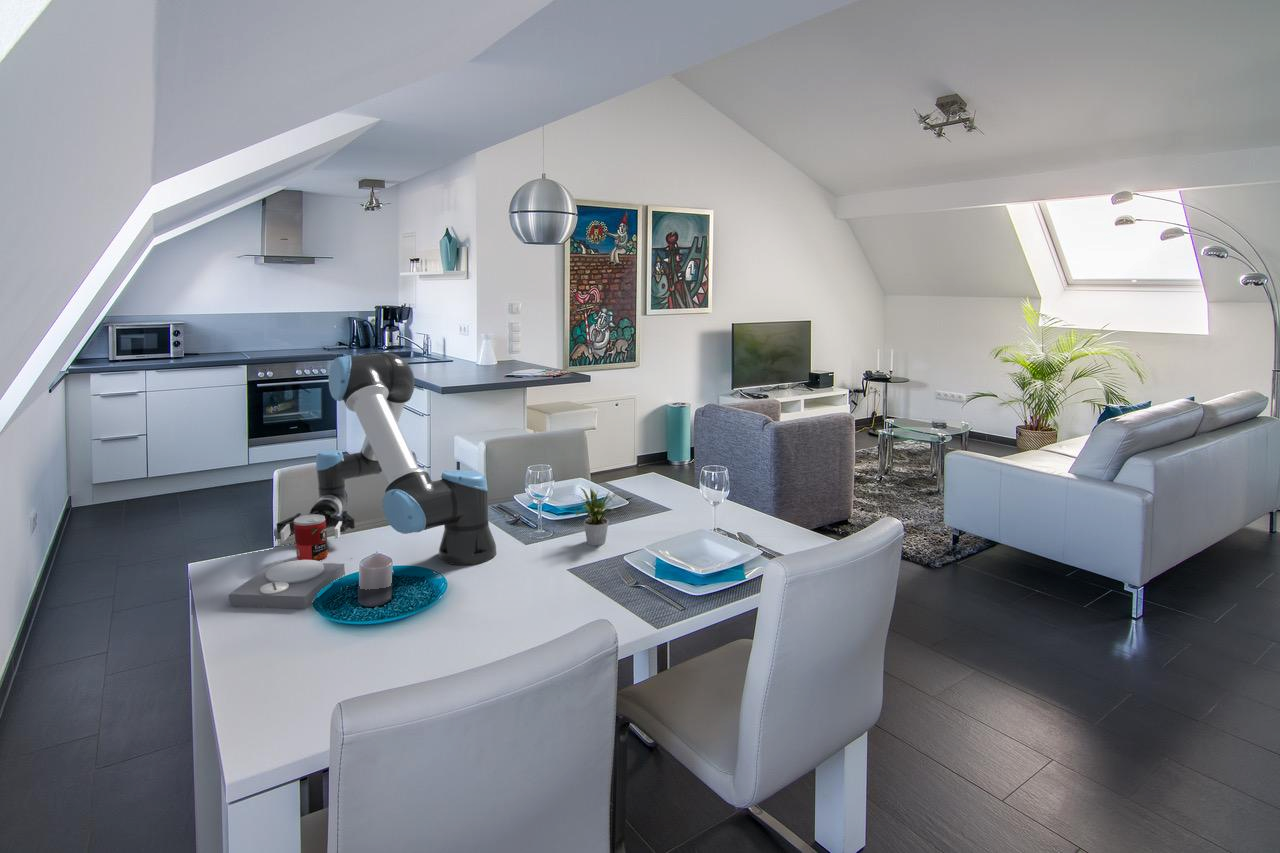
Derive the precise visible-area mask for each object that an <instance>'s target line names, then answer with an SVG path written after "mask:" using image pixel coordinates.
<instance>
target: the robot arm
mask: <svg viewBox="0 0 1280 853" xmlns="http://www.w3.org/2000/svg"><path fill="white" fill-rule="evenodd" d="M328 388H329V393H330V396H331V398H333V400H334V401H338V402H341V401H343V403H344V405H345V407H346V409H348V410H349V411H351V412H354V413H355V414H356V417H357V419H358V421H359V423H360V426H361V427H362V429H363V431H364V434H365V438H364V440H363V444H362V447H361V450H360V452H355V453H354V452H353V453H349V454H343V452H342V451H341V450H339V449H326V450H322V451H319V452H318V453H317V454H316V466H315V469H316V475H317V482H318V483H317V485H318V496H319V497H318V499H317V501H316V502H315V504H314V505H313V506H312V507H311V509H310V511H309V513H307V514H306V515H312V514H317V515H323V516H324V517H325V522H326V528H328V527H334V538H335V539H339V538H340V536H341V535H342V533H345V532H346V531H347V530H348V528H349V529H351V530H352V529H355V528H356V526H355V519H354V518H353V517H352V516H351V515H349V514H348V511H347V510H344V509H345V507H346V506H347V504H348V501H349V494H348V492H347V490H346V481H347V480H351V479H356V478H361V477H366V476H367V477H368V476H373V475H379V474H381V473H382V474H383V475H384V478H385V480H386V482H387V484H386V485H385V488H384V492H385V493H384V495H383V497H382V508H383V509H384V510H383V513H384V516H385V518H386V520H387V522H388V524H389V525H390V527H391V528H392V529H393V530H394V531H396V532H397V533H400V534H404V535H408V534H413V533H421V532H422V531H426V530H429V529H434V528H436V527H441V526H444V531H443V533H442V537H441V540H440V544H439V548H438V556H439V557H438V558H439V559H440V561H442V562H443V563H447V564H448V565H450V564H451V565H456V566H457V565H459V566H461V565H462V566H464V565H475V564H481V563H483V562H487V561H489V560H492V559H493V558H494V557H495V556H496V555H497V545H496V541H495V539H494V535H493V534H492V531H491V528H490V526H489V524H490V523H489V500H488V497H489V496H488V491H489V489H488V483H487V478H486V476H485V475H484V474H483V473H480V472H478V471H472V470H466V469H451V470H449V469H448V470H445V471H443V472H442V473H441V476H440V478H441V479H439V480H435V481H433V480H432V478H431V476H430V474H429V472H428V471H426V470H424V469H420V468H419V467H420V466H419V465H418V463H417V460H416V459H415V457H414V455H413V453H412V450H411V448H410V446H409V444H408V442H407V440H406V438H405V436H404V434H403V431H402V430H401V428H400V425H399V421H400V418H401V415H402V414H403V411H404V407H405V405H406V403H408V402H409V401H410V400H411V398H412V397H413V394H414V389H415V375H414V371H413V369H412V368H411V366H410V364H408V363H407V361H406V360H405V359H404V358H402V357H400V356H399V355H397V354H395V353H390V352H381V353H370V354H361V355H359V354H358V355H349V354H348V355H347V356H339V357H336V358H334V359H333V361H332V362H331V364H330V366H329V371H328ZM343 510H344V511H343ZM300 516H303V515H302V513H301V512H299V513H296V514H295V515H294V516H292V517H289V518H287V519H283V520H282V521H279V522H277V523H276V533H279V535H280V539H281V540H280V541H281V542H282V543H283V542H285V541H286V540H287V538H289V536H290V535H291V532H294V519H295V518H297V517H300Z"/></svg>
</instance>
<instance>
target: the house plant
mask: <svg viewBox="0 0 1280 853" xmlns="http://www.w3.org/2000/svg"><path fill="white" fill-rule="evenodd" d="M578 488H579V489H580V490H581V491H582V493H583V494H584V497H585V498H586V500H584V498H582V500H583V502H584V503H583V505H581V507H582V508H584V509H585V511H584V510H581V511H580V510H579V509H577V508H575V510H576V511H578V512H576V514H575V516H578V515H580V514H582V515H584V513H586V514H587V515H589V517H587V518H585V519H584V520H583V526H584V532H585V537H586V542H587V544H588V545H591V546H602V545H603V544H605V543H606V541H607V532H608V528H609V519H607V518H606V517H607V516H609V514H612V513H617V511H615V509H614V508H605V507H606V506H607V504H609V503H610V501H611V500H612V499H613V498H615V497H616V496H618V495H620V493H617V494H615V495H613V496H612V497H611V498H610V499H609V500H607V499H608V496H609V494H610V491H608V493H607V495H605V498H604V499H601V500H600V501H598V494H599V491H597V493H596V492H595V491H594V490H593V489H592V487H591V486H590V487H589V491H590V498H589V496H588V494H587V492H586V490H585V489H584V488H582V487H580V486H578ZM570 495H573V496H575V494H573V493H570ZM576 496H577V497H575V498H577V499H578V497H580V498H581V496H580V495H576ZM606 500H607V501H606ZM610 510H612V511H611V512H608V511H610ZM607 512H608V513H607ZM606 513H607V514H606ZM605 514H606V515H605ZM604 515H605V517H604Z"/></svg>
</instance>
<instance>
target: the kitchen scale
mask: <svg viewBox="0 0 1280 853" xmlns="http://www.w3.org/2000/svg"><path fill="white" fill-rule="evenodd" d="M343 575H344V576H346V571H345V563H330V562H326V563H325V562H322V561H316V560H298V559H297V560H290V561H275V562H273V563H271V564H270V565H268V566H267V567H266V568H264V569H263V570H261V571H260V572H259V573H257V574H255V575H254V576H253V577H251V578H250V579H248V580H247V581H246V582H244V583H243V584H241V585H240V586H238V587H237V588H236V589H234V590H232V591H231V592H230V593H228V600H229V607H236V608H239V607H240V608H241V607H242V608H244V607H245V608H269V609H270V608H271V609H273V608H274V609H299V610H306V609H307V608H309V606H311V605H312V604H313V603H312V601H313V599H314V597H315V596H316V595H317V593H318V592H319V591H320V590H321V589H322V588H324V587H325V586H327V585H328V584H330V583H331V582H333V581H334V580H336V579H338V578H340V577H342V576H343ZM344 576H343V577H344ZM343 577H342V578H343Z"/></svg>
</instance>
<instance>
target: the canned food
mask: <svg viewBox="0 0 1280 853" xmlns="http://www.w3.org/2000/svg"><path fill="white" fill-rule="evenodd" d="M293 532H294V539H295V540H294V541H295V542H294V543H295V551H296V558H297V560H316V561H319V562H321V561H324V560H325V559H327V557H328V556H327V555H329V547H328V537H327V536H328V534H327V533H328V532H327V527H326V522H325V517H324V516H323V515H317V514H312V515H307V514H304V515H302V516H300V517H297V518H295V519H294V531H293ZM320 560H321V561H320Z"/></svg>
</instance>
